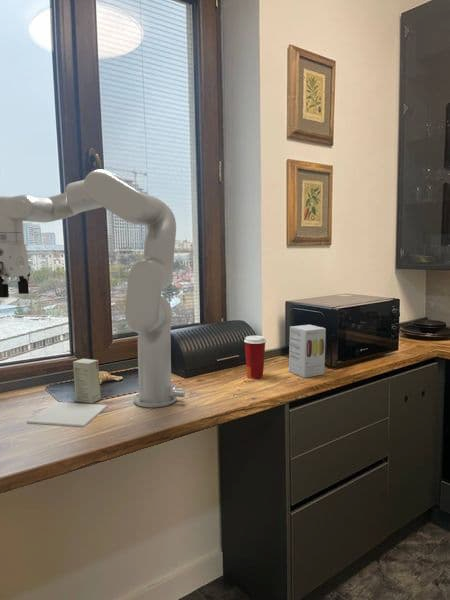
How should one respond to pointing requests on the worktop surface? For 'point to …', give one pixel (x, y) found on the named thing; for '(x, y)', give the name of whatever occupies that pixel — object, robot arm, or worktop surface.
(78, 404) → the mat
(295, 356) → the supplement box
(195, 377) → the worktop surface
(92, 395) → the skincare box
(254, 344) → the paper cup
